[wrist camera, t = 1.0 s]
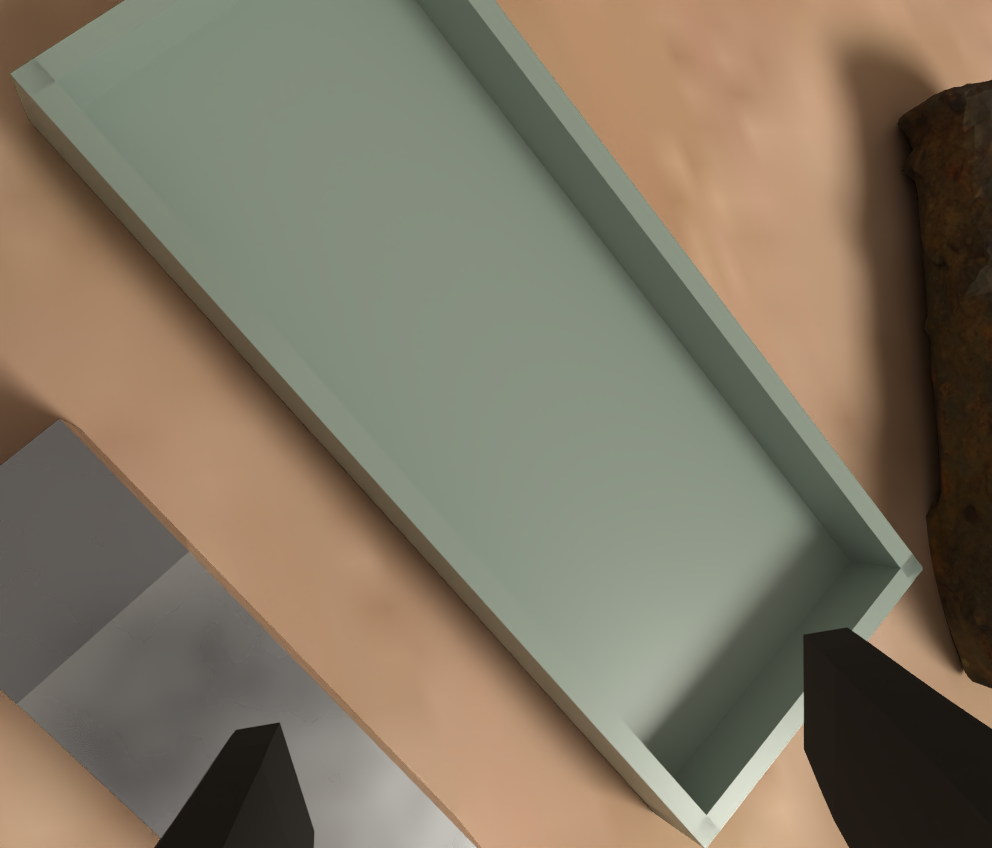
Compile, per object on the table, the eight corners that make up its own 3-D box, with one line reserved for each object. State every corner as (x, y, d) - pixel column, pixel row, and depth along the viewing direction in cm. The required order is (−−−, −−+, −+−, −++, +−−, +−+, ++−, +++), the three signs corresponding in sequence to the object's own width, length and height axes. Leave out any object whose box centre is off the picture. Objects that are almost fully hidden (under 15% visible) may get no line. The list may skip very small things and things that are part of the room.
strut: (340, 941, 22) (374, 1037, 18) (-72, 549, 19) (-130, 567, 16) (453, 814, 23) (508, 880, 19) (80, 428, 20) (59, 418, 17)
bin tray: (655, 814, 25) (705, 849, 23) (28, 119, 20) (9, 73, 18) (860, 560, 28) (923, 568, 26) (354, -97, 23) (374, -160, 21)
